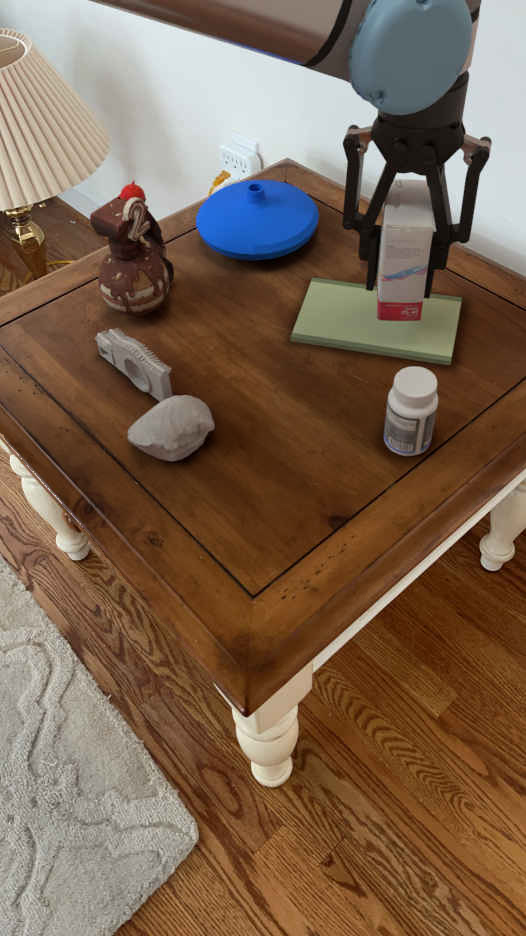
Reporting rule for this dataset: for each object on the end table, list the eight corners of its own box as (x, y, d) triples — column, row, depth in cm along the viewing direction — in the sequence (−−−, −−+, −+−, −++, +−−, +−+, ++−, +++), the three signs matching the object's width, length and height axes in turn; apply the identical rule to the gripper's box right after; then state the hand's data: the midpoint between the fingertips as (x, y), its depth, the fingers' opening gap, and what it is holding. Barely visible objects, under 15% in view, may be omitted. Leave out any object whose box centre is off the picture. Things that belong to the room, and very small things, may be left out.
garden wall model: (98, 356, 85) (86, 316, 80) (111, 348, 86) (100, 308, 81) (166, 410, 79) (157, 370, 75) (178, 401, 80) (170, 361, 75)
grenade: (140, 272, 94) (116, 160, 82) (193, 292, 91) (176, 179, 79) (92, 316, 89) (59, 204, 77) (146, 338, 86) (120, 225, 75)
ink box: (420, 324, 80) (437, 229, 71) (372, 321, 80) (384, 226, 71) (419, 273, 85) (435, 178, 76) (375, 270, 86) (385, 176, 76)
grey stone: (181, 482, 73) (174, 450, 69) (117, 450, 76) (107, 418, 72) (230, 425, 78) (226, 391, 74) (167, 397, 80) (160, 363, 77)
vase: (174, 237, 98) (166, 188, 93) (262, 188, 104) (259, 140, 99) (253, 291, 91) (250, 242, 85) (343, 235, 97) (346, 186, 91)
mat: (290, 341, 85) (290, 337, 84) (312, 281, 91) (312, 277, 91) (450, 365, 81) (451, 361, 81) (461, 301, 88) (462, 297, 87)
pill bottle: (416, 416, 77) (426, 357, 71) (439, 448, 74) (451, 390, 68) (374, 430, 76) (381, 371, 70) (396, 463, 73) (405, 405, 67)
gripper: (539, 55, 64) (488, 276, 82) (328, 41, 68) (324, 255, 86) (535, 97, 60) (481, 321, 78) (309, 79, 63) (309, 297, 82)
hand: (399, 286), depth 82 cm, fingers closed on ink box, 5 cm apart
